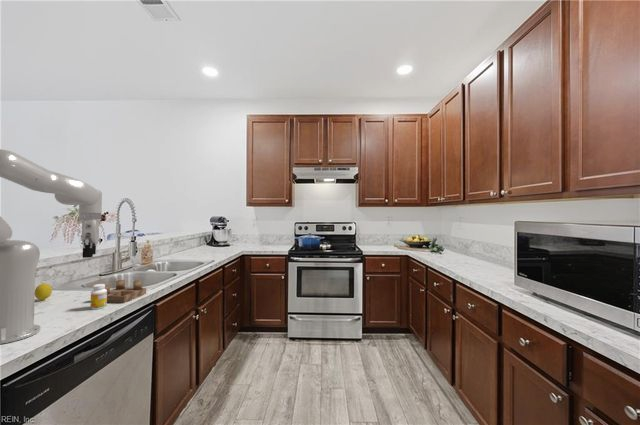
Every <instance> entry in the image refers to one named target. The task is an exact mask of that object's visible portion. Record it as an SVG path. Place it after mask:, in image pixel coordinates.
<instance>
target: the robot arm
mask: <svg viewBox="0 0 640 425" xmlns="http://www.w3.org/2000/svg"><path fill="white" fill-rule="evenodd" d="M0 178H2V179H4V180H8V181H10V182H12V183H14V184H17V185H19V186H22V187H24V188H27V189H28V190H31V191H35V192H36V191H37V192H39V193H45V194H54V200H56V202H58V203H60V204H62V205H65V206H78V221H81V243H82V244H83V245H82V247H83V248H82V258H83V259H86V258H93V257H94V256H93V255H96V253H97V250H96V248H97V245H96V244H97V243H98V242H99V240H100V226H99V225H100V224H99V221H102V210H103V205H102V204H103V192H102V191H101V190H100V189H96V188H95V187H94V186H92V185H91V184H89V183H87V182H84V181H82V180H80V179H78V178H74V177H71V176H69V175H65V174H62V173H58V172H56V171H52V170H49V169H46V168H45V167H43V166H40V165H39V164H37V163H35V162H33V161H31V160H29V159H27V158H25V157H23V156H21V155H20V154H17V153H15V152H13V151H10V150H8V149H0ZM12 236H13V229H12V227H11V226H10V224H8V223H7V221H6V220H4V219H3V218H2V217H1V216H0V345H2V344H3V345H4V344H8V343H13V342H17V341H20V340H23V339H27V338H29V337H31V336H35V335H37V334H38V333H39V332H40V331H41V325H39V324H35V298H36V297H35V289H36V286H35V285H36V272H37V271H36V270H37V267H38V263H39V260H40V256H41V255H40V254H41V252H40V249H39V247H38V246H37V245H36V244H35V243H33V242H30V241H26V240H17V239H15V240H14V239H13V240H12V239H11V238H12ZM10 239H11V240H10Z"/></svg>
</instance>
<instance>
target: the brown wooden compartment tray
mask: <svg viewBox="0 0 640 425" xmlns="http://www.w3.org/2000/svg"><path fill="white" fill-rule="evenodd" d="M104 289H106V290H107V302H111V303H112V304H125V302H126V303H128V302H130V301H133V300H135V299H137V298H139V297H141V296H144V294H145V295H146V294H147V287H143V280H140V279H139V280H134V281H133V287H129V286H127V287H126V280H125V279H118V280H116V281H115V288H114V289H111V285H110V284H105V288H104ZM132 299H133V300H132ZM111 303H110V304H111Z"/></svg>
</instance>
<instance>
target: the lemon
mask: <svg viewBox="0 0 640 425" xmlns="http://www.w3.org/2000/svg"><path fill="white" fill-rule="evenodd" d="M52 291H53V289H52V287H51V285H50V284H48V283H44V282H43V283H41V284H39V285H38V286H36V287H35V298H36V299H37V300H41V301H45V300H46V299H48V298H49V297H51V295H52V293H53V292H52Z"/></svg>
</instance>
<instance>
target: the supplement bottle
mask: <svg viewBox="0 0 640 425" xmlns="http://www.w3.org/2000/svg"><path fill="white" fill-rule="evenodd" d="M105 285H106V284H105V283H98V284H94V285H93V286H92V289H93V290H92V291H90V306H89V307H90V308H89V309H90V310H102V309H104V308H106V307H107V304H108V303H107V290H106V289H104V288H105Z"/></svg>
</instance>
